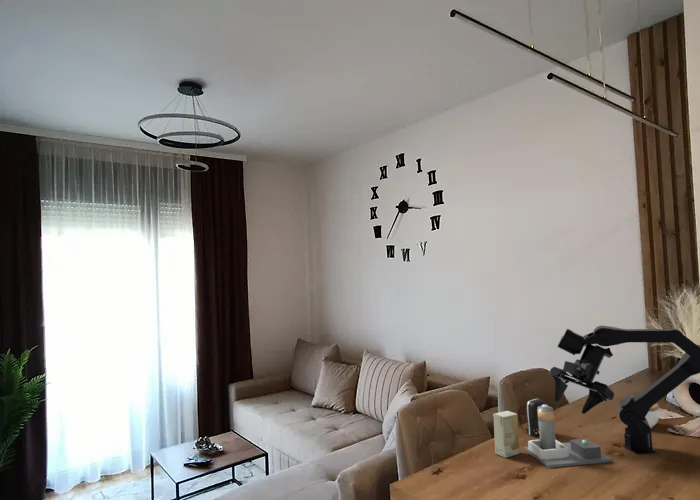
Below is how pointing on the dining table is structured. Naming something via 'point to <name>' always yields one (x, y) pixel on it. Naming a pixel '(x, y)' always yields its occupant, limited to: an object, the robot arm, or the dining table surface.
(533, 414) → the battery charger
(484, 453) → the dining table surface
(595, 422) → the dining table surface
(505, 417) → the skincare box
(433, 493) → the dining table surface
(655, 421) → the lidded jar
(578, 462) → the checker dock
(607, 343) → the robot arm
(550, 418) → the big cell
